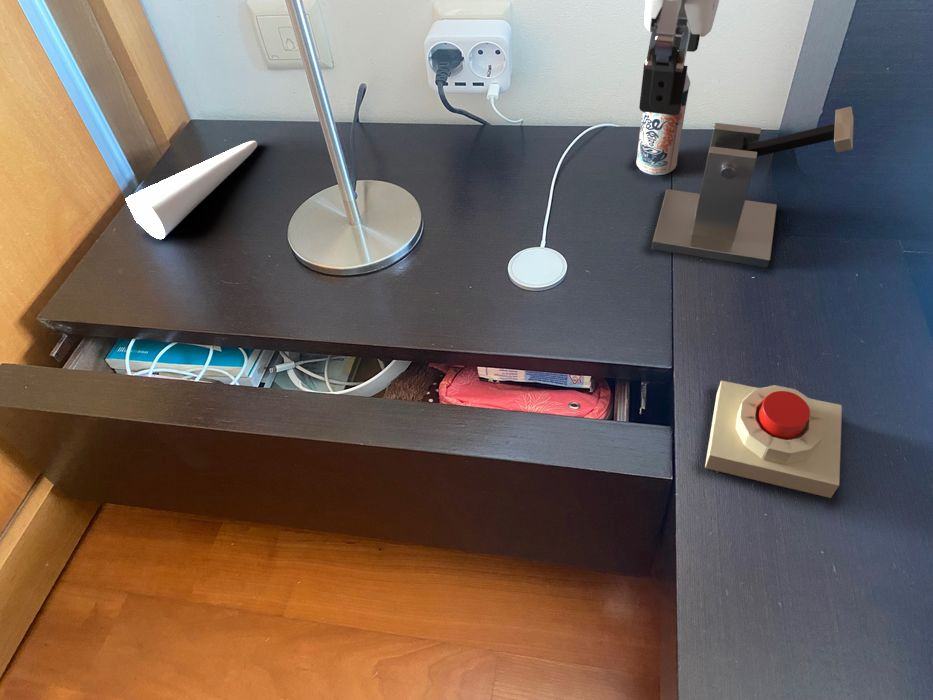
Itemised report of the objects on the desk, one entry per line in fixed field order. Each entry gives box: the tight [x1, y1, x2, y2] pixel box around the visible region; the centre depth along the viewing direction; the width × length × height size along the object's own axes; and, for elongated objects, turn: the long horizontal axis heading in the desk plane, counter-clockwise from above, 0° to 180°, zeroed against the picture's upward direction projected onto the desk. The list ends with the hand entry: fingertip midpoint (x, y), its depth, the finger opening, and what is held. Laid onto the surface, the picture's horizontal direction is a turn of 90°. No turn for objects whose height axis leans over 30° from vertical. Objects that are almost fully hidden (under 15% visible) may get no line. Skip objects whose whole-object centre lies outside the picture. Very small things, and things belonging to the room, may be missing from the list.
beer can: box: [635, 72, 691, 176], centre depth 83 cm, size 5×5×12 cm
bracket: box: [651, 122, 778, 269], centre depth 75 cm, size 12×9×12 cm
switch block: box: [704, 380, 843, 499], centre depth 61 cm, size 10×8×4 cm
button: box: [758, 391, 810, 439], centre depth 59 cm, size 4×4×2 cm
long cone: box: [125, 140, 258, 240], centre depth 90 cm, size 6×6×19 cm
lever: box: [715, 106, 854, 157], centre depth 69 cm, size 12×5×2 cm, turn 71°
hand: (669, 78), depth 61 cm, fingers open, 9 cm apart
